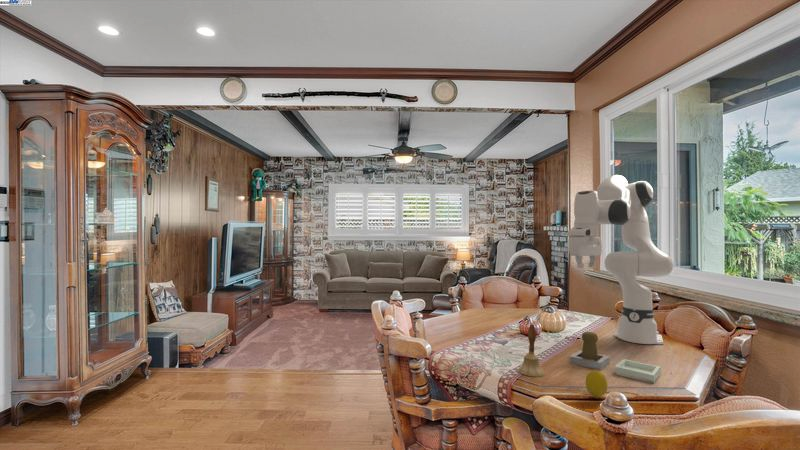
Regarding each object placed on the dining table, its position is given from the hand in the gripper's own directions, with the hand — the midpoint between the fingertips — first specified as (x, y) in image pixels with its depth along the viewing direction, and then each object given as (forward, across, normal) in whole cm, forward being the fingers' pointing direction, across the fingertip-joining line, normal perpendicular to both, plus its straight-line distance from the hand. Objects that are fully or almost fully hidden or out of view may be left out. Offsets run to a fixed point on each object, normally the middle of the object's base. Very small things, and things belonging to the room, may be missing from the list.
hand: (586, 267), depth 148 cm
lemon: (+34, +36, +20) cm, 54 cm away
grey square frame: (+34, +8, +5) cm, 35 cm away
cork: (+34, +8, +5) cm, 35 cm away
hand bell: (+34, +33, -3) cm, 48 cm away
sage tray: (+34, +6, +20) cm, 40 cm away
